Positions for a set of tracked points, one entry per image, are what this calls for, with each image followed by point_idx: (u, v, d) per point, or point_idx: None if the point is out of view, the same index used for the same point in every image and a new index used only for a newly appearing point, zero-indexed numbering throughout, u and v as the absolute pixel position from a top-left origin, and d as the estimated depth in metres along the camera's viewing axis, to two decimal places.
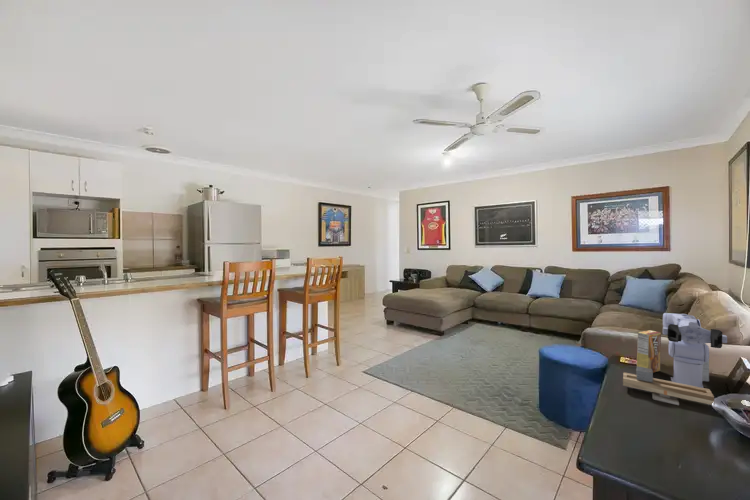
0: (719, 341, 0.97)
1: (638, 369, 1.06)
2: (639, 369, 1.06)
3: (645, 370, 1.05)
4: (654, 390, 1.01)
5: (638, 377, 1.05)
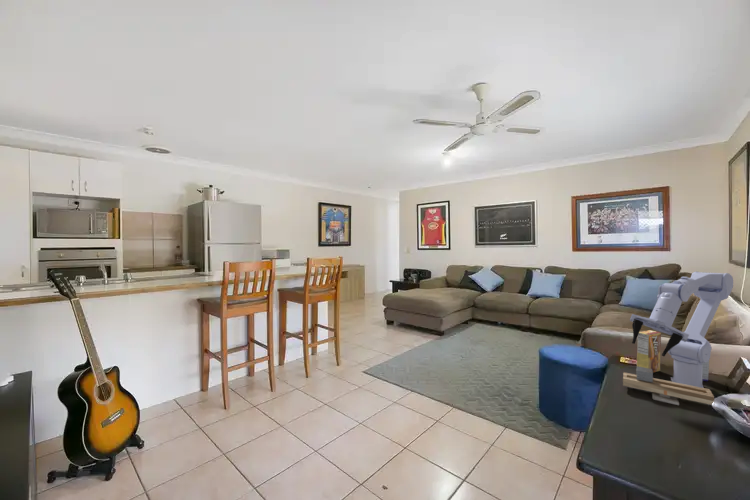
0: None
1: (638, 369, 1.06)
2: (639, 369, 1.06)
3: (645, 370, 1.05)
4: (654, 390, 1.01)
5: (638, 377, 1.05)
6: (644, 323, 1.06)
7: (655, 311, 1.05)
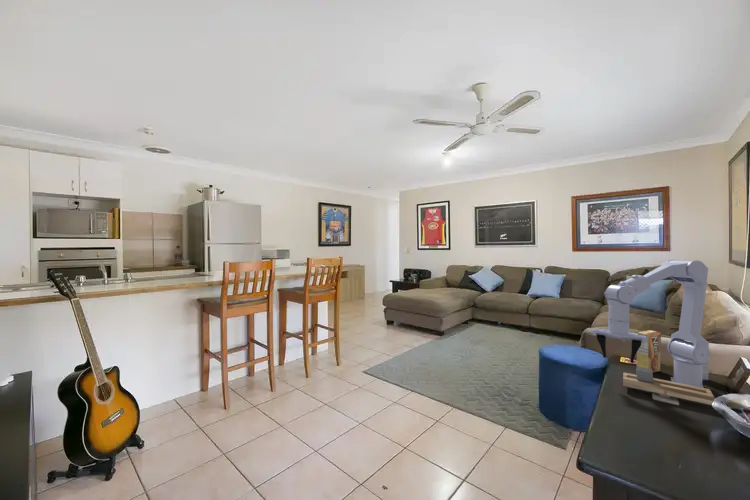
0: None
1: (638, 369, 1.06)
2: (639, 369, 1.06)
3: (645, 370, 1.05)
4: (654, 390, 1.01)
5: (638, 377, 1.05)
6: (606, 335, 1.12)
7: (610, 323, 1.10)
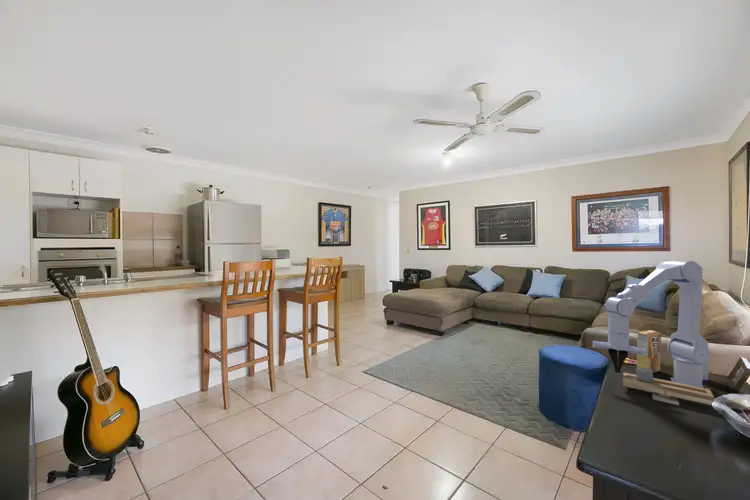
0: None
1: (638, 369, 1.06)
2: (639, 369, 1.06)
3: (645, 370, 1.05)
4: (654, 390, 1.01)
5: (638, 377, 1.05)
6: (605, 347, 1.12)
7: (610, 335, 1.10)
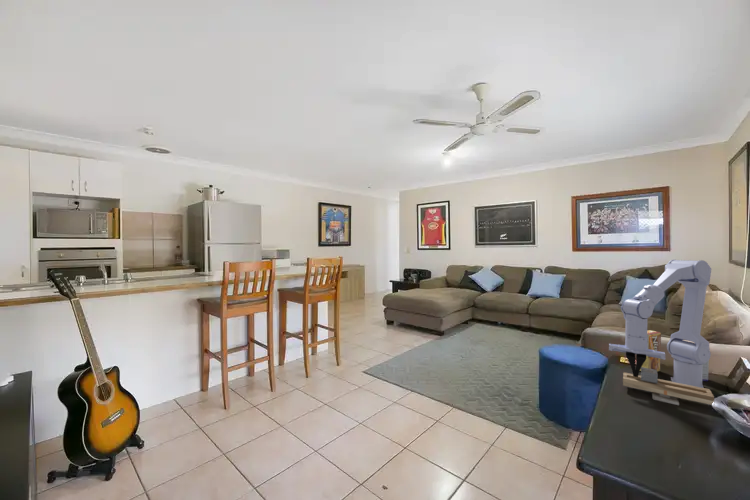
0: None
1: (643, 370, 1.05)
2: (644, 370, 1.05)
3: (650, 371, 1.04)
4: (654, 390, 1.01)
5: (643, 378, 1.04)
6: (623, 350, 1.09)
7: (627, 338, 1.07)
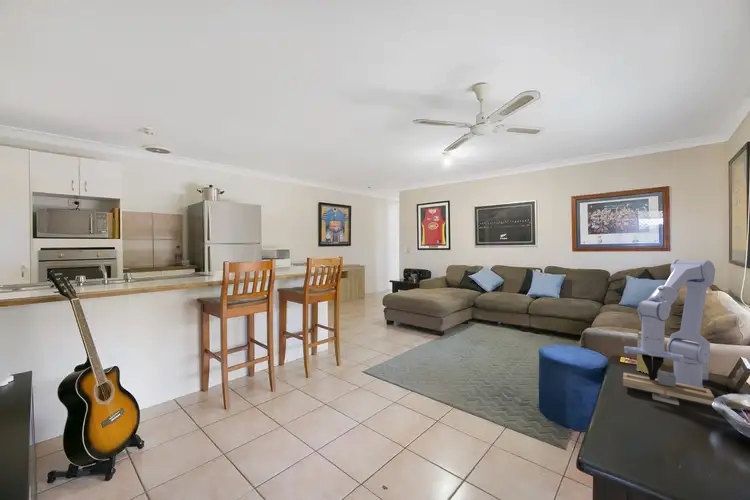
0: None
1: (660, 373, 1.02)
2: (661, 373, 1.02)
3: (667, 374, 1.02)
4: (654, 390, 1.01)
5: (660, 381, 1.01)
6: (639, 353, 1.06)
7: (644, 340, 1.04)
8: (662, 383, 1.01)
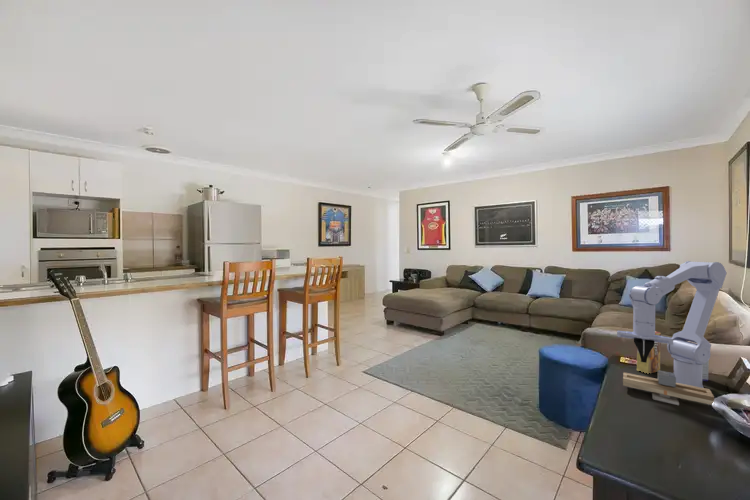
0: None
1: (660, 373, 1.02)
2: (661, 373, 1.02)
3: (667, 374, 1.02)
4: (654, 390, 1.01)
5: (660, 381, 1.01)
6: (631, 337, 1.10)
7: (635, 324, 1.08)
8: (662, 383, 1.01)
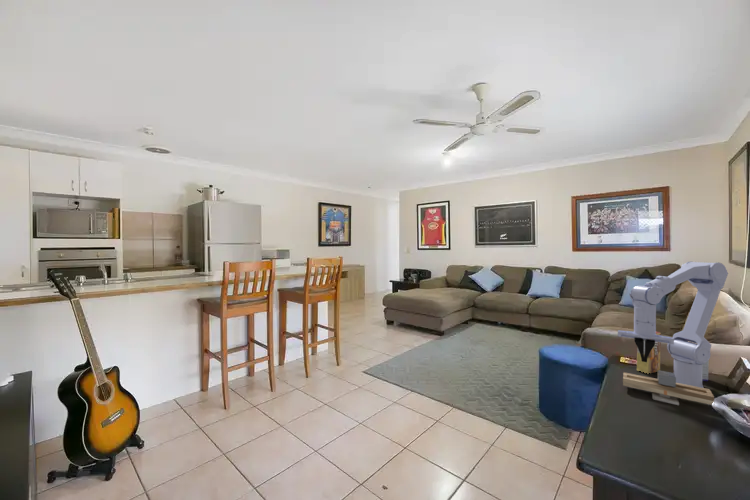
0: None
1: (660, 373, 1.02)
2: (661, 373, 1.02)
3: (667, 374, 1.02)
4: (654, 390, 1.01)
5: (660, 381, 1.01)
6: (631, 336, 1.11)
7: (636, 324, 1.09)
8: (662, 383, 1.01)
